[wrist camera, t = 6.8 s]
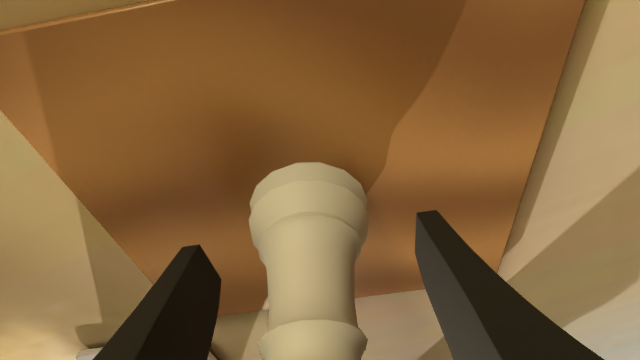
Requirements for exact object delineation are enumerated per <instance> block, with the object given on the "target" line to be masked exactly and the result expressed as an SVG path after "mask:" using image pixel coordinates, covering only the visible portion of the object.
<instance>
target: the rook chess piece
mask: <svg viewBox="0 0 640 360" xmlns="http://www.w3.org/2000/svg"><path fill="white" fill-rule="evenodd" d="M366 207H367V197H366V195H365V193H364V190H363V188H362V186H361V183H359V182H358V181H357V180H356V179H355V178H353V177H352V176H351V175H350V174H349V173H347V172H346V171H345V170H343V169H339V168H336V167H333V166H330V165H327V164H324V163H320V162H301V163H295V164H292V165H289V166H286V167H284V168H281V169H278V170H275V171H273V172H271V173H270V174H269V175H268V176H267V177H266V178H264V179H263V180H262V181H261V182H260V183H259V184H258V185H257V186H256V188H255V190H254V193H253V195H252V198H251V200H250V208H251V215H250V218H249V225H250V231H251V236H252V241H253V245H254V246H255V247H256V248H257V249H258V251H259V256H260V260H261V261H262V262H263V264H264V265H265V266H266V270H267V281H268V298H269V313H268V325H267V332H266V333H265V334H264V335H263V337H262V338H261V340H260V341H259V343H258V348H259V352H260V355H261V356H262V358H263V359H264V360H361V356H362V355H363V353H364V351H365V349H366V345H367V341H368V339H367V338H366V336H365V335H364V333H363V332H362V330H361V329H360V328H359V327H358V325H357V318H356V310H355V303H354V297H355V262H356V261H357V260H358V259H359V257H360V254H361V247H362V245H363V244H364V243H365V242H366V238H367V231H368V224H369V215H368V212H367V210H366Z"/></svg>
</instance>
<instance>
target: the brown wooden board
mask: <svg viewBox="0 0 640 360" xmlns="http://www.w3.org/2000/svg"><path fill="white" fill-rule="evenodd" d="M585 1H586V0H151V1H146V2H141V3H136V4H131V5H126V6H121V7H116V8H111V9H106V10H101V11H96V12H91V13H86V14H81V15H76V16H72V17H67V18H62V19H57V20H52V21H47V22H42V23H37V24H32V25H27V26H22V27H17V28H12V29H7V30H2V31H0V110H1V111H2V113H3V114H4V115H5V116H6V117H7V118H8V119H9V121H10V122H11V123H12V124H13V125H14V126H15V127H16V128H17V130H18V131H19V132H20V133H21V134H22V135H23V136H24V138H25V139H26V140H27V141H28V142H29V143H30V144H31V146H32V147H33V148H34V149H35V150H36V151H37V152H38V153H39V155H40V156H41V157H42V158H43V159H44V160H45V161H46V163H47V164H48V165H49V166H50V167H51V168H52V169H53V171H54V172H55V173H56V174H57V175H58V176H59V177H60V179H61V180H62V181H63V182H64V183H65V184H66V185H67V186H68V188H69V189H70V190H71V191H72V192H73V193H74V194H75V196H76V197H77V198H78V199H79V200H80V201H81V202H82V204H83V205H84V206H85V207H86V208H87V209H88V210H89V211H90V213H91V214H92V215H93V216H94V217H95V218H96V219H97V221H98V222H99V223H100V224H101V225H102V226H103V227H104V229H105V230H106V231H107V232H108V233H109V234H110V235H111V237H112V238H113V239H114V240H115V241H116V242H117V243H118V244H119V246H120V247H121V248H122V249H123V250H124V251H125V252H126V254H127V255H128V256H129V257H130V258H131V259H132V260H133V262H134V263H135V264H136V265H137V266H138V267H139V268H140V269H141V271H142V272H143V273H144V274H145V275H146V276H147V277H148V279H149V280H150V281H151V282H152V283H153V284H155V283H156V281H157V280H158V279H159V277H160V276H161V275H162V273H163V272H164V270H165V269H166V268H167V266H168V265H169V264H170V262H171V261H172V260H173V258H174V257H175V256H176V254H177V253H178V252H179V251H180V249H181V248H182V247H185V246H192V245H199V244H200V246H201V247H202V249H203V250H204V252H205V254H206V255H207V257H208V258H209V260H210V262H211V263H212V265H213V266H214V268H215V270H216V271H217V273H218V274H219V276H220V278H221V279H222V280H221V292H220V302H219V310H218V315H217V316H220V315H228V314H236V313H244V312H251V311H259V310H267V309H269V298H268V281H267V270H266V266H265V265H264V264H263V262H262V261H261V260H260V256H259V251H258V249H257V248H256V247H255V246H254V245H253V241H252V236H251V231H250V225H249V218H250V215H251V208H250V200H251V198H252V195H253V193H254V190H255V188H256V186H257V185H258V184H259V183H260V182H261V181H262V180H263V179H264V178H266V177H267V176H268V175H269V174H270V173H271V172H273V171H275V170H278V169H281V168H284V167H286V166H289V165H292V164H295V163H301V162H320V163H324V164H327V165H330V166H333V167H336V168H339V169H343V170H345V171H346V172H347V173H349V174H350V175H351V176H352V177H353V178H355V179H356V180H357V181H358V182H359V183H361V186H362V188H363V190H364V193H365V195H366V197H367V207H366V210H367V212H368V215H369V224H368V231H367V238H366V242H365V243H364V244H363V245H362V247H361V254H360V257H359V259H358V260H357V261H356V262H355V297H354V298H359V297H367V296H374V295H382V294H390V293H398V292H405V291H413V290H421V289H425V286H424V284H423V281H422V277H421V274H420V270H419V267H418V263H417V259H416V256H415V233H416V213H417V212H424V211H431V210H437V211H438V212H439V213H440V214H441V215H442V216H443V218H444V219H445V220H446V221H447V222H448V223H449V225H450V226H451V227H452V228H453V229H454V230H455V231H456V232H457V234H458V235H459V236H460V237H461V238H462V239H463V240H464V241H465V242H466V243H467V244H468V245H469V246H470V247H471V248H472V249H473V251H474V252H475V253H476V254H477V255H478V256H479V257H480V258H481V259H482V260H483V261H484V262H486V263H487V264H488V265H489V266H490V267H491V268H492V269H493V270H494V271H495V272H496V273H497V272H498V269H499V266H500V262H501V259H502V256H503V253H504V250H505V247H506V244H507V241H508V238H509V235H510V232H511V229H512V226H513V222H514V219H515V216H516V213H517V210H518V207H519V204H520V201H521V198H522V195H523V192H524V189H525V186H526V182H527V179H528V176H529V173H530V170H531V167H532V164H533V161H534V158H535V155H536V152H537V149H538V146H539V142H540V139H541V136H542V133H543V130H544V127H545V124H546V121H547V118H548V115H549V112H550V109H551V106H552V102H553V99H554V96H555V93H556V90H557V87H558V84H559V81H560V78H561V75H562V72H563V69H564V66H565V62H566V59H567V56H568V53H569V50H570V47H571V44H572V41H573V38H574V35H575V32H576V29H577V26H578V22H579V19H580V16H581V13H582V10H583V7H584V4H585Z"/></svg>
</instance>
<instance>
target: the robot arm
mask: <svg viewBox="0 0 640 360" xmlns="http://www.w3.org/2000/svg"><path fill="white" fill-rule="evenodd" d="M415 256H416V259H417V263H418V267H419V270H420V274H421V277H422V281H423V284H424V286H425V289H426V291H427V294H428V296H429V299H430V301H431V304H432V306H433V309H434V311H435V314H436V316H437V319H438V321H439V324H440V326H441V329H442V331H443V334H444V336H445V339H446V341H447V344H448V346H449V349H450V351H451V354H452V357H453V360H604V359H603V358H601V357H600V356H598V355H597V354H596V353H594V352H593V351H591V350H590V349H588V348H587V347H586V346H584V345H583V344H581V343H580V342H579V341H577V340H576V339H575V338H573V337H572V336H571V335H569V334H568V333H567V332H566V331H564V330H563V329H562V328H560V327H559V326H558V325H556V324H555V323H554V322H553V321H551V320H550V319H549V318H548V317H546V316H545V315H544V314H543V313H541V312H540V311H539V310H538V309H536V308H535V307H534V306H533V305H532V304H530V303H529V302H528V301H527V300H526V299H525V298H523V297H522V296H521V295H520V294H519V293H518V292H517V291H515V290H514V289H513V288H512V287H511V286H510V285H509V284H508V283H507V282H505V281H504V280H503V279H502V278H501V277H500V276H499V275H498V274H497V273H496V272H495V271H494V270H493V269H492V268H491V267H490V266H489V265H488V264H487V263H486V262H484V261H483V260H482V259H481V258H480V257H479V256H478V255H477V254H476V253H475V252H474V251H473V249H472V248H471V247H470V246H469V245H468V244H467V243H466V242H465V241H464V240H463V239H462V238H461V237H460V236H459V235H458V234H457V232H456V231H455V230H454V229H453V228H452V227H451V226H450V225H449V223H448V222H447V221H446V220H445V219H444V218H443V216H442V215H441V214H440V213H439V212H438V211H437V210H431V211H424V212H417V213H416V233H415ZM221 280H222V279H221V278H220V276H219V274H218V273H217V271H216V270H215V268H214V266H213V265H212V263H211V262H210V260H209V258H208V257H207V255H206V254H205V252H204V250H203V249H202V247H201V246H200V244H199V245H192V246H185V247H182V248H181V249H180V251H179V252H178V253H177V254H176V256H175V257H174V258H173V260H172V261H171V262H170V264H169V265H168V266H167V268H166V269H165V270H164V272H163V273H162V275H161V276H160V277H159V279H158V280H157V281H156V283H155V284H154V285H153V287H152V288H151V289H150V290H149V292H148V293H147V294H146V296H145V297H144V298H143V300H142V301H141V302H140V303H139V305H138V306H137V307H136V309H135V310H134V311H133V312H132V314H131V315H130V316H129V317H128V318H127V320H126V321H125V322H124V323H123V324H122V326H121V327H120V328H119V329H118V331H117V332H116V333H115V334H114V335H113V337H112V338H111V339H110V340H109V341H108V343H107V344H106V345H105V346H104V347H100V348H92V349H84V350H80V351H79V352H78V354H77V356H76V359H77V360H217V359H216V358H215V357H214V356H213V354H212V353H211V352H210V351H209V350H210V346H211V342H212V337H213V333H214V328H215V324H216V319H217V315H218V310H219V302H220V292H221Z"/></svg>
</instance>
